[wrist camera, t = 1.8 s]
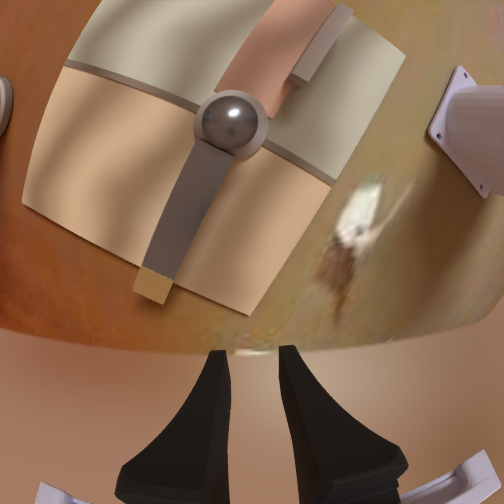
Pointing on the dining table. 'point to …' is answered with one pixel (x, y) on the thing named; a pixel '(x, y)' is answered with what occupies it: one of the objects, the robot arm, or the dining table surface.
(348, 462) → the robot arm
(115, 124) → the door board
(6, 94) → the travel mug
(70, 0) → the dining table surface
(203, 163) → the bar
